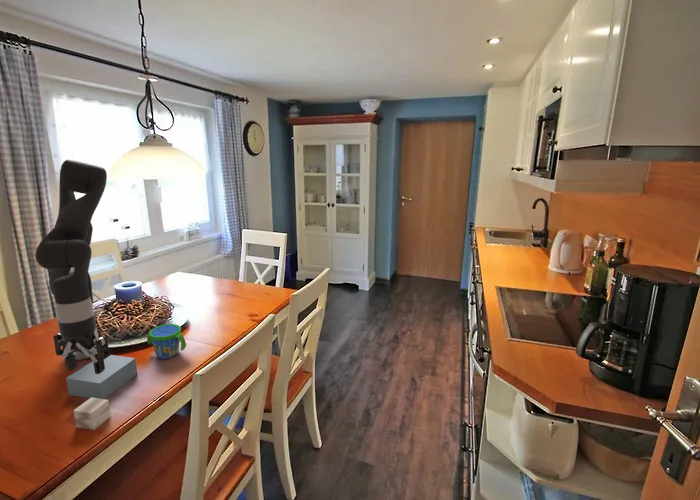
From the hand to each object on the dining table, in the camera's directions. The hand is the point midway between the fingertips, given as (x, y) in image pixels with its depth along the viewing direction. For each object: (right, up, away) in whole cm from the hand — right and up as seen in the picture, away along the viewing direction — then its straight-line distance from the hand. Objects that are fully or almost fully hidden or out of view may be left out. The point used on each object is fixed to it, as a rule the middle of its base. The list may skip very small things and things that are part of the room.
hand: (86, 370), depth 94 cm
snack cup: (+2, -7, +38) cm, 39 cm away
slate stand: (-9, -11, +20) cm, 25 cm away
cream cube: (-1, -16, +4) cm, 16 cm away
